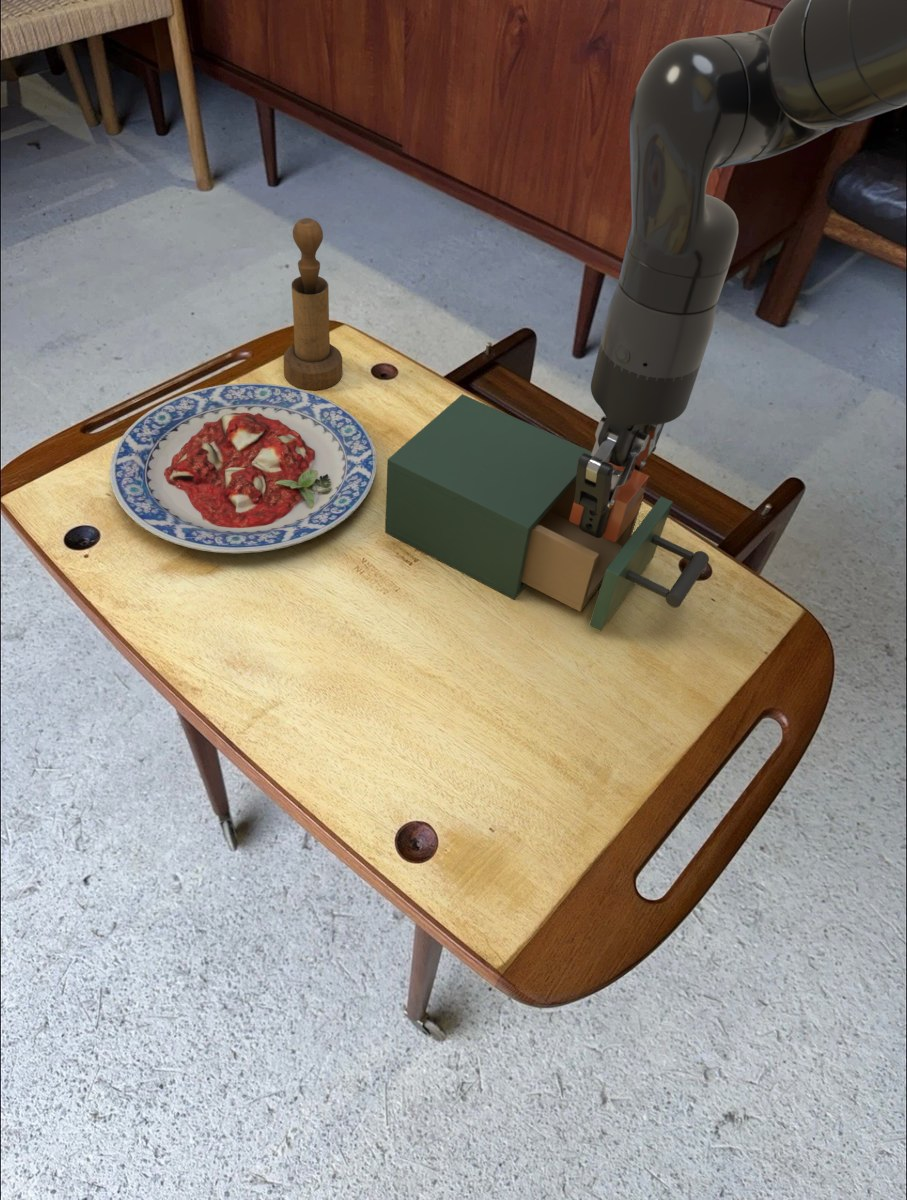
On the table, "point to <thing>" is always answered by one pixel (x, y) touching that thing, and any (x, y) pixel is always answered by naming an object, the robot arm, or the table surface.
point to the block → (620, 505)
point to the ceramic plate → (243, 468)
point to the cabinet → (477, 490)
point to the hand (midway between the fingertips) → (604, 515)
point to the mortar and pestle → (311, 318)
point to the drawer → (602, 560)
